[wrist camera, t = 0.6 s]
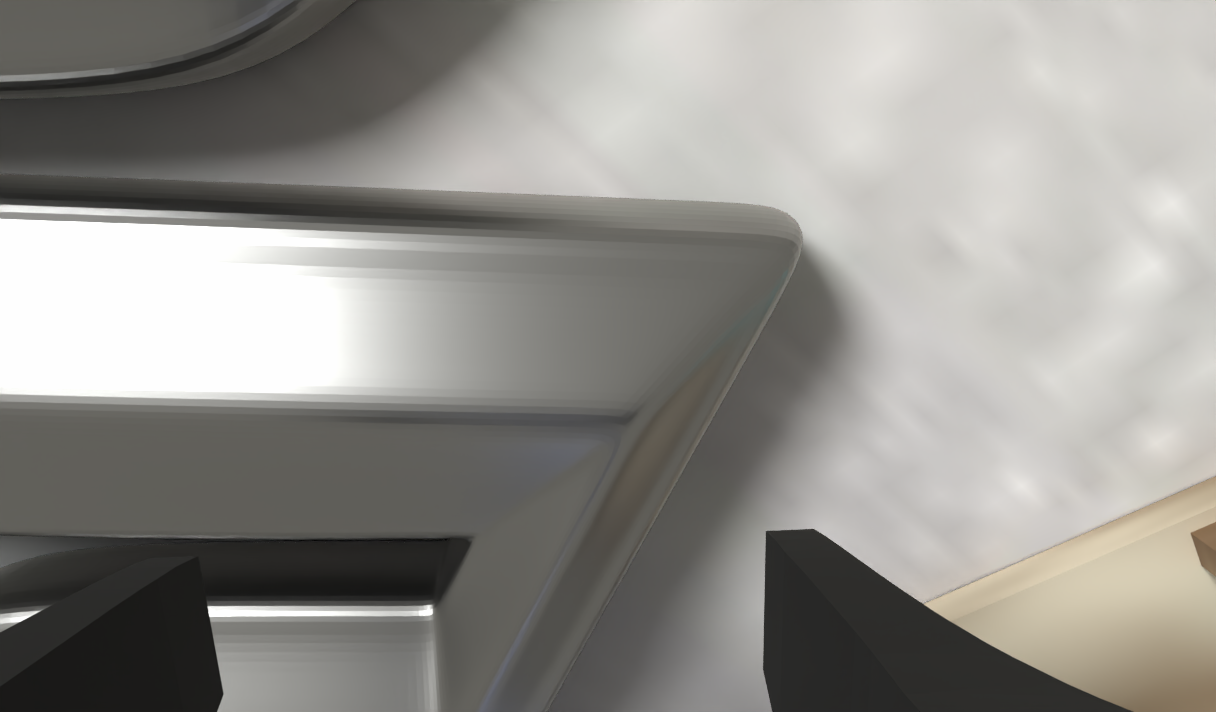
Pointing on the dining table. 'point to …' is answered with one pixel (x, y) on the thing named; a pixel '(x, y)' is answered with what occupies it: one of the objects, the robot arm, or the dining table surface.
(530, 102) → the dining table surface
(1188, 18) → the dining table surface
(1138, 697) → the rack
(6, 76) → the emblem
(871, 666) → the robot arm
